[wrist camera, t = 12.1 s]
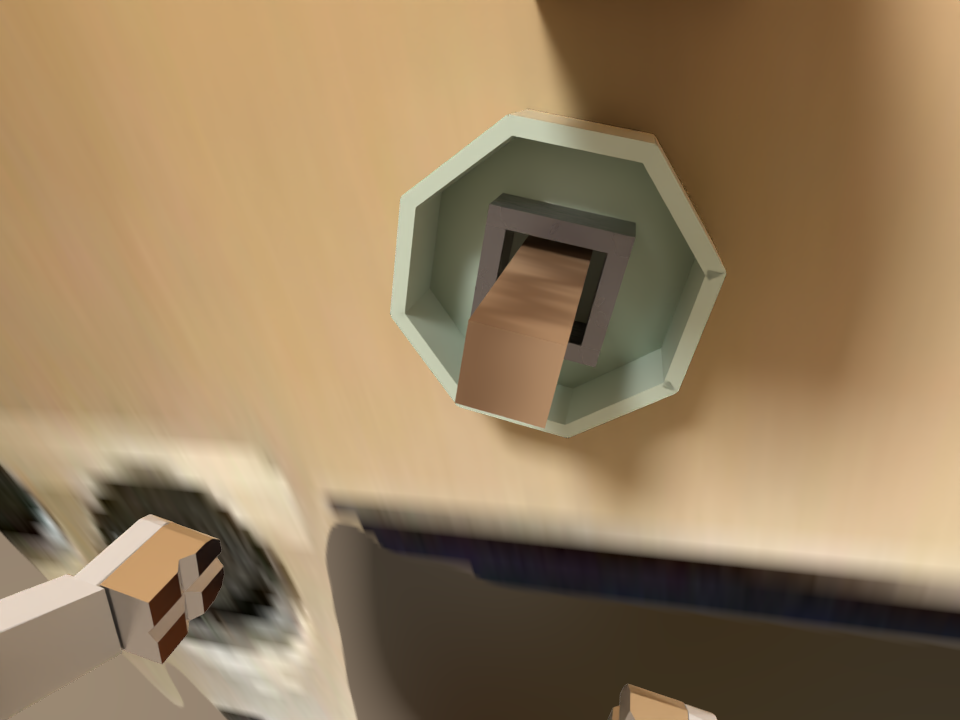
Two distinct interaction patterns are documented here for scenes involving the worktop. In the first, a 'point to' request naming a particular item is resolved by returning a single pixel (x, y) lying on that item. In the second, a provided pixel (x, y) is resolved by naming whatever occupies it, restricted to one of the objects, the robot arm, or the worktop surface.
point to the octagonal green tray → (583, 186)
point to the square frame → (565, 228)
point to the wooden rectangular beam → (523, 332)
